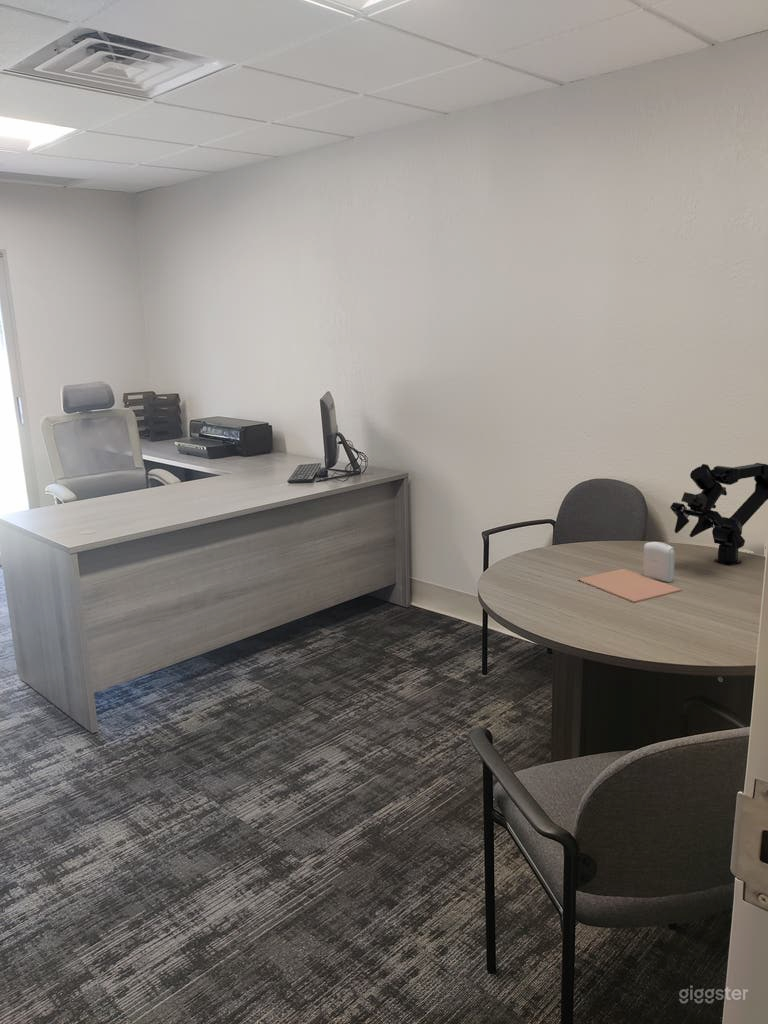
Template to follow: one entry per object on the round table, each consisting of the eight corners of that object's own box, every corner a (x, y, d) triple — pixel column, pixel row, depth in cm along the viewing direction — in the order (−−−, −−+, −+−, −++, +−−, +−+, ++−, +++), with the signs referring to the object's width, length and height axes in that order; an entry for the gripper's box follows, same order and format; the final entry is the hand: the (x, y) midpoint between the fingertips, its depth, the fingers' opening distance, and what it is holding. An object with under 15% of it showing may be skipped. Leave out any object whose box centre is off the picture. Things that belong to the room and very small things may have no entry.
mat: (623, 570, 266) (623, 568, 266) (681, 590, 244) (681, 589, 243) (577, 580, 258) (577, 578, 258) (634, 602, 235) (634, 601, 235)
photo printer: (640, 576, 259) (641, 541, 256) (647, 573, 261) (649, 538, 259) (668, 583, 251) (670, 547, 248) (675, 580, 254) (677, 544, 251)
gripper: (674, 479, 264) (649, 515, 262) (719, 487, 248) (693, 526, 246) (690, 498, 269) (666, 533, 267) (735, 508, 253) (710, 545, 251)
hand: (682, 534), depth 258 cm, fingers open, 6 cm apart
